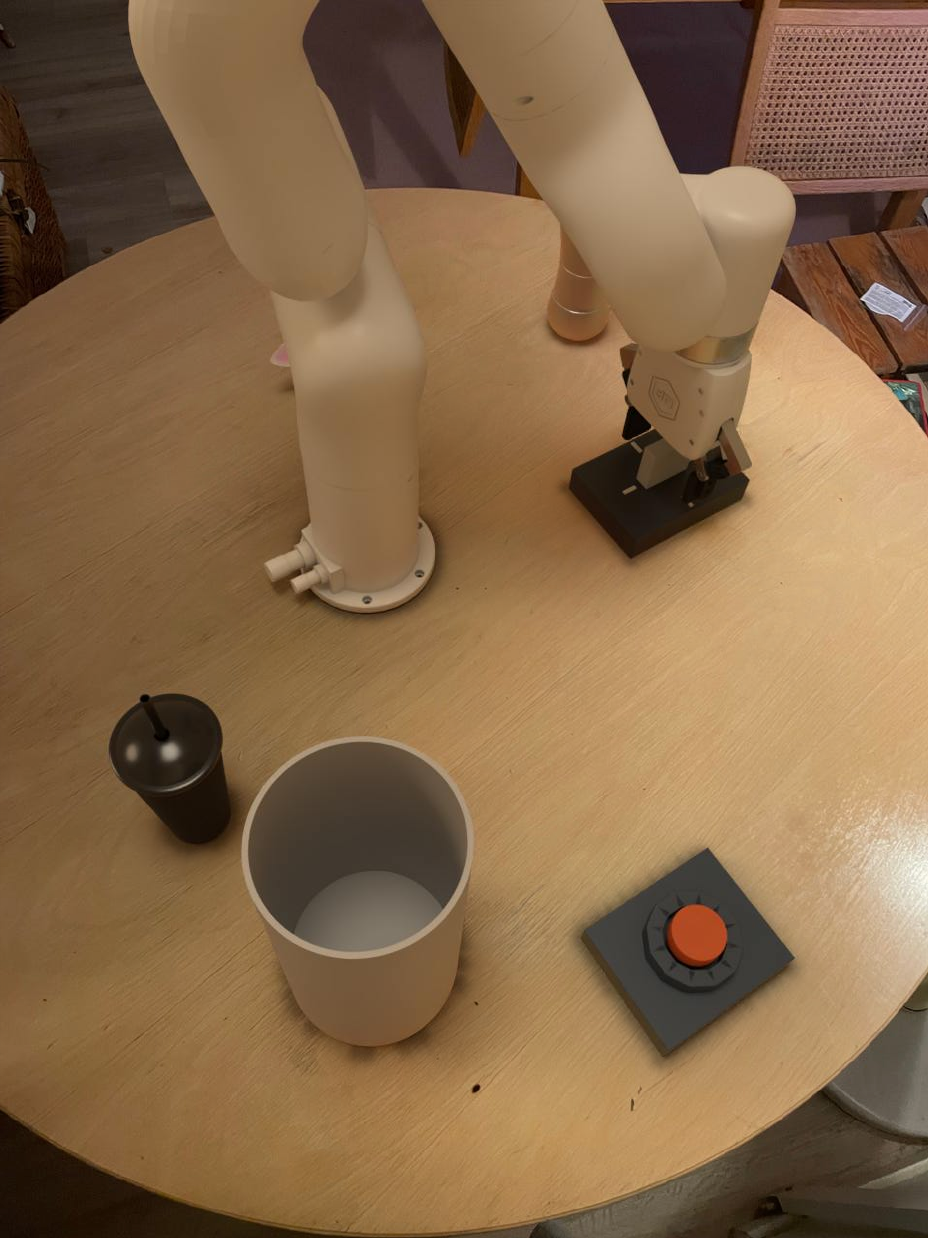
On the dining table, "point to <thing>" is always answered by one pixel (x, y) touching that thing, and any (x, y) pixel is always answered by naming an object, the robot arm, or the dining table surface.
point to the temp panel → (645, 497)
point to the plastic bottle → (576, 297)
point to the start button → (696, 935)
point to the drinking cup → (174, 763)
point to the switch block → (662, 984)
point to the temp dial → (660, 463)
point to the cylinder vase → (362, 884)
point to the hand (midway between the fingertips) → (665, 464)
